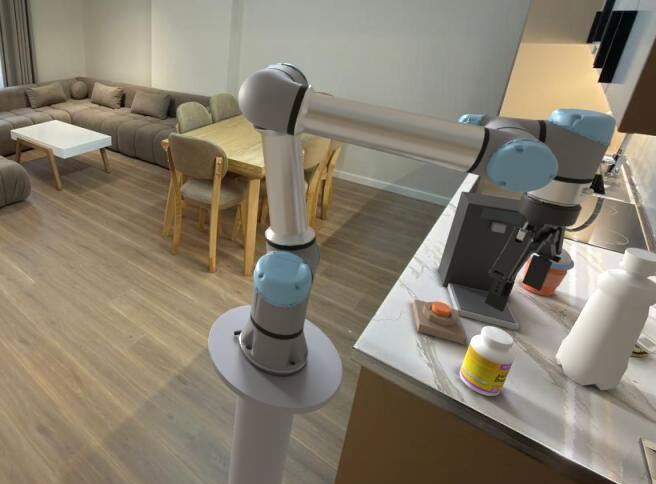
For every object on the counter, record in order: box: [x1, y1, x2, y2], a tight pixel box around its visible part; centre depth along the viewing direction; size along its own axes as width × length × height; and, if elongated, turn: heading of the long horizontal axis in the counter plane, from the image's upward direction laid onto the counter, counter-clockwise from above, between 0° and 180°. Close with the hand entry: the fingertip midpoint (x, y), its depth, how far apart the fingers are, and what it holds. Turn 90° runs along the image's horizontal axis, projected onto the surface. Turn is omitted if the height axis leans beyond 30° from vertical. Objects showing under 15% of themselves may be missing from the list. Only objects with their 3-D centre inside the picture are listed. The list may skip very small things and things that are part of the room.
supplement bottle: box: [459, 325, 515, 397], centre depth 79 cm, size 7×7×13 cm
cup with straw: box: [521, 247, 575, 297], centre depth 105 cm, size 9×9×18 cm
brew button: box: [431, 301, 452, 317], centre depth 95 cm, size 4×4×2 cm
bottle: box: [555, 247, 656, 391], centre depth 77 cm, size 9×9×30 cm
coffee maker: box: [437, 191, 527, 331], centre depth 101 cm, size 14×20×26 cm
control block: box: [412, 298, 467, 345], centre depth 96 cm, size 9×10×4 cm
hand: (513, 296), depth 76 cm, fingers open, 13 cm apart
